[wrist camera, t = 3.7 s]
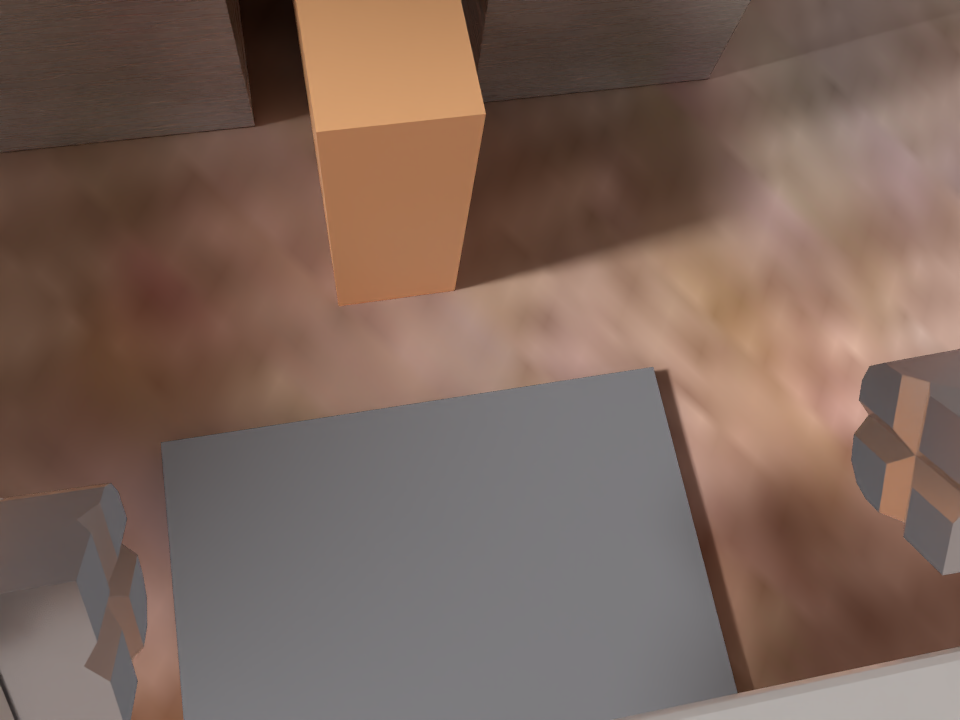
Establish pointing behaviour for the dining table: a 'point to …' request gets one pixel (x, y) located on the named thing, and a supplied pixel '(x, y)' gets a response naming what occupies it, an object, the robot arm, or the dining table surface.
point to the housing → (224, 75)
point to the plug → (392, 139)
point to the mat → (444, 562)
